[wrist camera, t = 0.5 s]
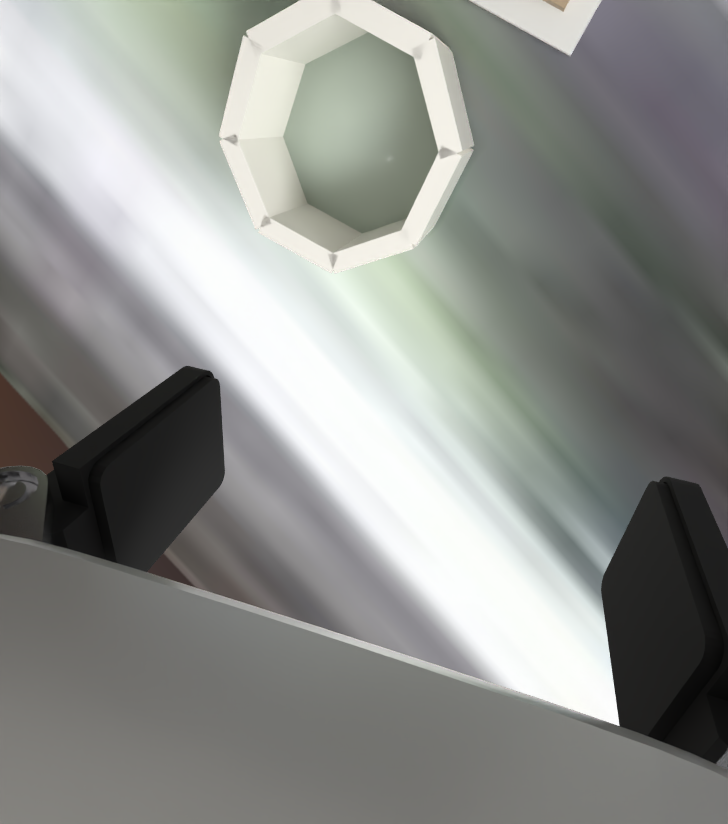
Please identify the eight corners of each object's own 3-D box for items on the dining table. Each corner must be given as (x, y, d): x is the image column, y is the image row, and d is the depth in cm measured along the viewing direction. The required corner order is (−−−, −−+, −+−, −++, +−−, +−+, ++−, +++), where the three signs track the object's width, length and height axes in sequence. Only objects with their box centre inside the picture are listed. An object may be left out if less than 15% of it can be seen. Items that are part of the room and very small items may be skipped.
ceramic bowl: (316, -25, 31) (265, -59, 25) (509, 81, 31) (503, 73, 25) (253, 189, 38) (202, 201, 32) (409, 275, 38) (386, 304, 32)
